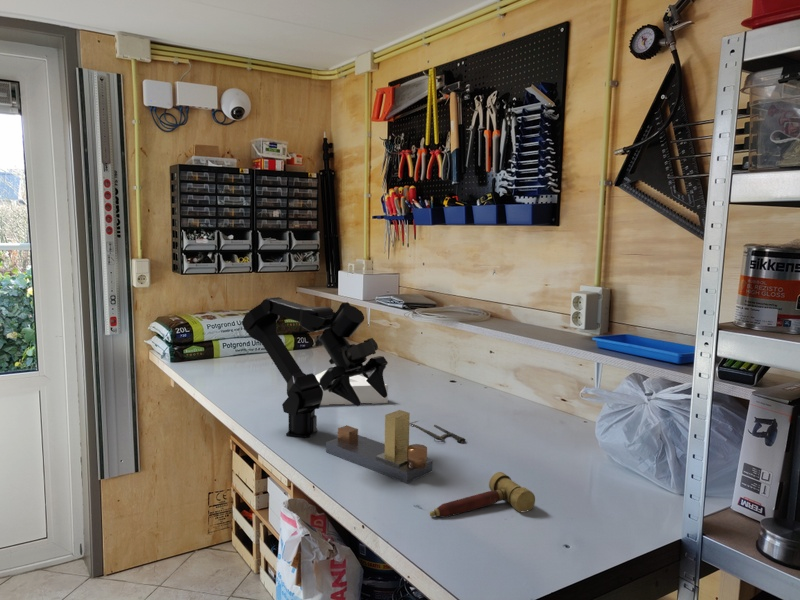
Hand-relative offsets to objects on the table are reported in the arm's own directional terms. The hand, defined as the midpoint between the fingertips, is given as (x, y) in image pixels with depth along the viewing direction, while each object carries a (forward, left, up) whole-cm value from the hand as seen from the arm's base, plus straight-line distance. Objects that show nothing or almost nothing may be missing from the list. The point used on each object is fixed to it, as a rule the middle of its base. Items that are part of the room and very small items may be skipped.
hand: (373, 400), depth 141 cm
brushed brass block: (+7, -4, -11) cm, 14 cm away
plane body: (+2, -1, -14) cm, 14 cm away
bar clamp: (+10, +22, -15) cm, 28 cm away
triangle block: (-19, +46, -15) cm, 52 cm away
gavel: (+26, -19, -15) cm, 36 cm away
